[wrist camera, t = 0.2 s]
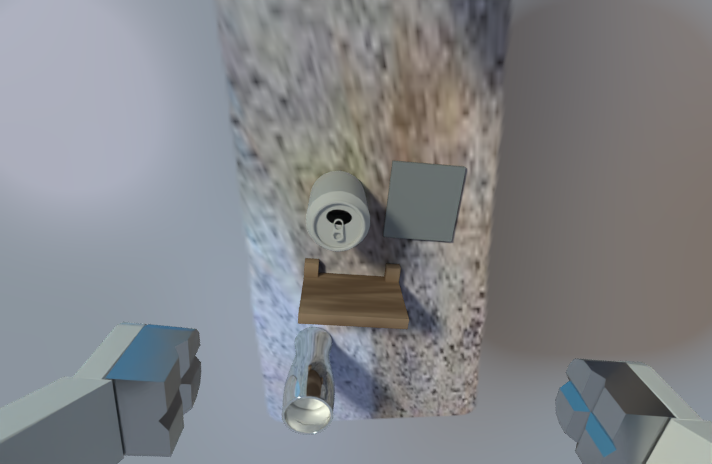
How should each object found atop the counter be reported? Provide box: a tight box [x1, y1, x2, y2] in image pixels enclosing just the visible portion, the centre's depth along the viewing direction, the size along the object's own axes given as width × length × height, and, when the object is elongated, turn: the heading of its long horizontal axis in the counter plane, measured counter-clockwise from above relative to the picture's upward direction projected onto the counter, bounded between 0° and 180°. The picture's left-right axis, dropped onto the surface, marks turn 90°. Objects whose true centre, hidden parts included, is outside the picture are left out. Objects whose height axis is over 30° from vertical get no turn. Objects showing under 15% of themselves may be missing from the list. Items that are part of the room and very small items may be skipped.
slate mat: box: [383, 161, 466, 242], centre depth 58 cm, size 11×10×1 cm
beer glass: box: [282, 327, 335, 435], centre depth 60 cm, size 7×7×15 cm
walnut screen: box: [298, 258, 409, 329], centre depth 57 cm, size 6×14×11 cm, turn 85°
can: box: [306, 171, 370, 252], centre depth 52 cm, size 8×8×12 cm
